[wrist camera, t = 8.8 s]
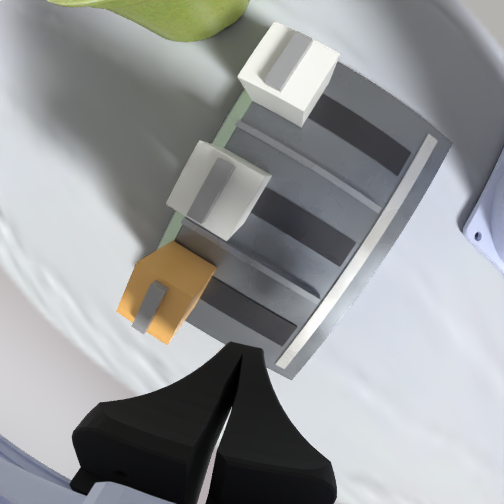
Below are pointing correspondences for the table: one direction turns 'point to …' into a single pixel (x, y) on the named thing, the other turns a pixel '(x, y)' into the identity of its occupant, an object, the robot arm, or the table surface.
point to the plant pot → (172, 15)
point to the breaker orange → (164, 290)
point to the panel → (311, 216)
